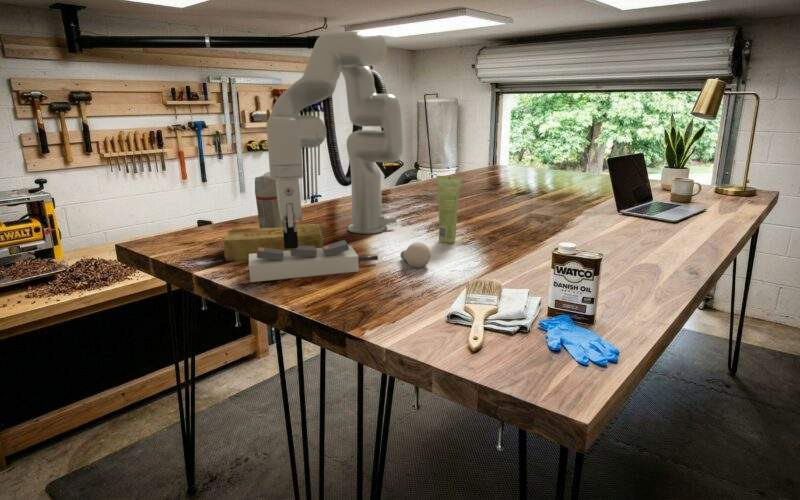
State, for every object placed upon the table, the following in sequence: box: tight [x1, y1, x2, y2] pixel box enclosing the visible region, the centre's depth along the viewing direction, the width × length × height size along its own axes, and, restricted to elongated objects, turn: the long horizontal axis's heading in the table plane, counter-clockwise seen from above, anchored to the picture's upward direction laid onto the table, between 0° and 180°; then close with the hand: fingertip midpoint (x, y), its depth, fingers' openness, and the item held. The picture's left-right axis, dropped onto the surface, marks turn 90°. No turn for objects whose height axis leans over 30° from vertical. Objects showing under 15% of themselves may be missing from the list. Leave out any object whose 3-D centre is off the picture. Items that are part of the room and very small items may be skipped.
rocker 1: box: [257, 247, 284, 261], centre depth 123 cm, size 6×4×2 cm, turn 107°
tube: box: [436, 175, 463, 244], centre depth 149 cm, size 6×5×20 cm
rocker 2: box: [290, 245, 317, 257], centre depth 125 cm, size 6×4×2 cm, turn 106°
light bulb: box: [400, 241, 432, 269], centre depth 131 cm, size 7×7×11 cm
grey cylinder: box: [254, 171, 284, 228], centre depth 155 cm, size 8×8×20 cm
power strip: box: [248, 244, 379, 283], centre depth 128 cm, size 32×10×4 cm, turn 106°
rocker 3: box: [322, 239, 349, 257], centre depth 127 cm, size 6×4×2 cm, turn 105°
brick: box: [223, 223, 324, 262], centre depth 142 cm, size 13×26×7 cm, turn 103°
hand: (291, 247), depth 123 cm, fingers closed
